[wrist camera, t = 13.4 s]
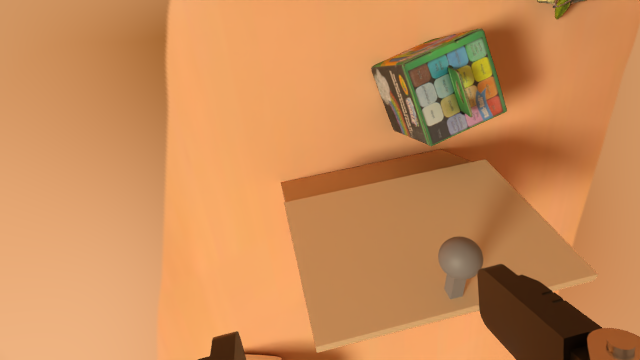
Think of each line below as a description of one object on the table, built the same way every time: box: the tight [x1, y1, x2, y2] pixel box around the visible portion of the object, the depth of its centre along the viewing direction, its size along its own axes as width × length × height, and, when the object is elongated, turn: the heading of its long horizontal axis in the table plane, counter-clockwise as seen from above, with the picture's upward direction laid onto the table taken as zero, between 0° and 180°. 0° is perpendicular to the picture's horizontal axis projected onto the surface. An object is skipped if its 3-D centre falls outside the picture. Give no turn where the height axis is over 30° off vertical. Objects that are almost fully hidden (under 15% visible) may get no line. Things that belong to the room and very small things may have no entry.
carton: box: [281, 149, 471, 202], centre depth 49 cm, size 16×22×10 cm
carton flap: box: [284, 159, 598, 353], centre depth 33 cm, size 16×22×6 cm
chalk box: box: [371, 29, 507, 146], centre depth 42 cm, size 9×9×15 cm
